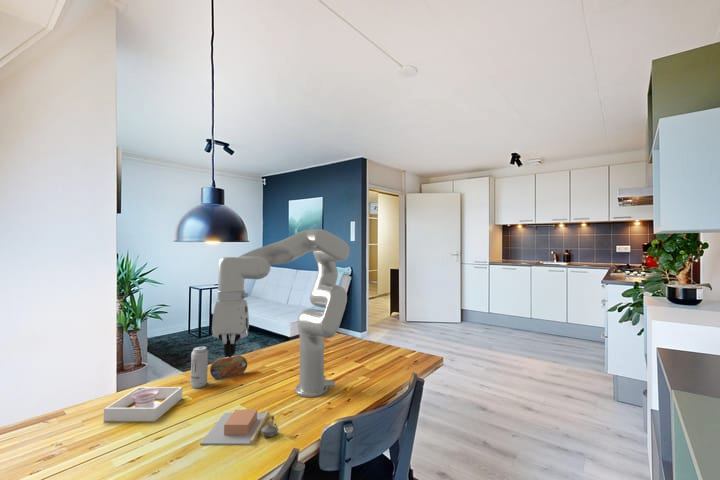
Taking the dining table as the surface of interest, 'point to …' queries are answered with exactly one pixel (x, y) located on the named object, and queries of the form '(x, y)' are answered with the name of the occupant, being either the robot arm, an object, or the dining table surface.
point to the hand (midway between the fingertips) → (229, 355)
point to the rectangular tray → (121, 413)
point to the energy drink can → (199, 367)
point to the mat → (219, 438)
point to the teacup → (145, 398)
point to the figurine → (270, 429)
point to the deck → (240, 422)
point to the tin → (228, 367)
